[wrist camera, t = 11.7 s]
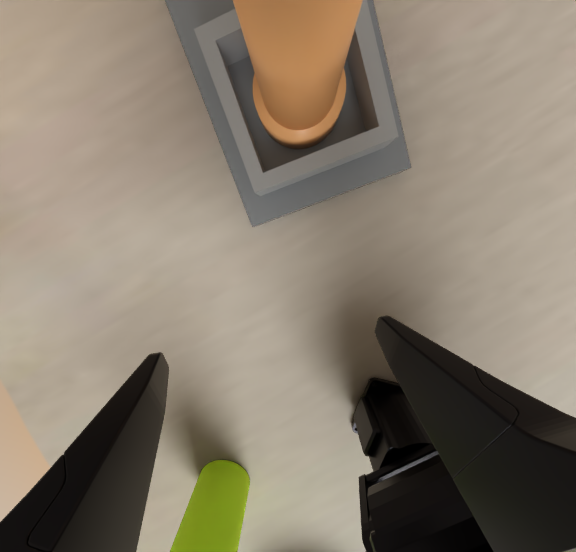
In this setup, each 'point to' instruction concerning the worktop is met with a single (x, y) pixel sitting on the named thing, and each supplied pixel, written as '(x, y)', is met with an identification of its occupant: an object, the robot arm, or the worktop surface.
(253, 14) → the orange knob handle
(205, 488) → the soap dispenser
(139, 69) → the worktop surface
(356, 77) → the housing
